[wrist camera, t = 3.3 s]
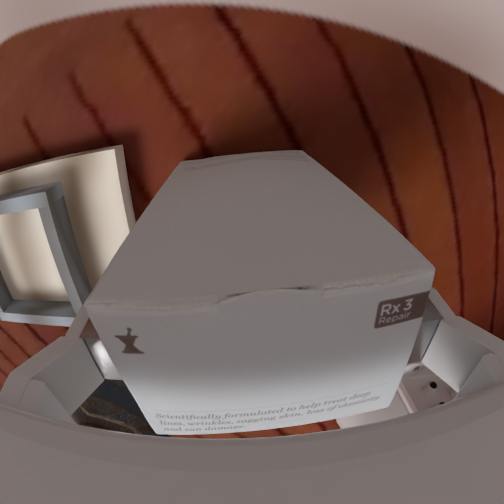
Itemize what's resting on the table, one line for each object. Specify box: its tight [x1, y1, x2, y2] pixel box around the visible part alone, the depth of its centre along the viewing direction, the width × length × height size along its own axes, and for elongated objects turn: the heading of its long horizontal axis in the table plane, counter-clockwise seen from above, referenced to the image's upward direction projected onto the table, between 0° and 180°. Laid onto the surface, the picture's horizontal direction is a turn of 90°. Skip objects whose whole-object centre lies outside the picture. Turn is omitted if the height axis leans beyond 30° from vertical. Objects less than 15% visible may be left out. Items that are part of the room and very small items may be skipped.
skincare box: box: [84, 150, 435, 435], centre depth 14 cm, size 8×6×15 cm
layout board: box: [0, 145, 136, 327], centre depth 20 cm, size 20×14×4 cm
